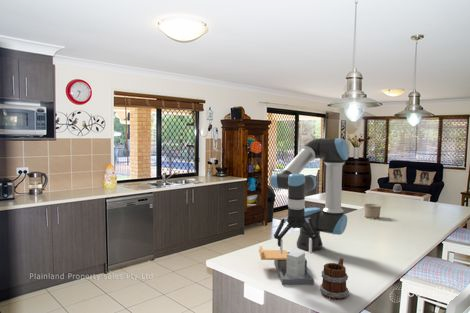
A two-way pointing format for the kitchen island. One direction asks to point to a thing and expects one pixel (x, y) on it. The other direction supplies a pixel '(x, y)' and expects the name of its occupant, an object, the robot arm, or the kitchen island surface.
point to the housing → (303, 280)
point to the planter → (372, 210)
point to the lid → (272, 254)
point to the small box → (295, 264)
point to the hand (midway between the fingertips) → (295, 252)
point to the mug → (334, 281)
